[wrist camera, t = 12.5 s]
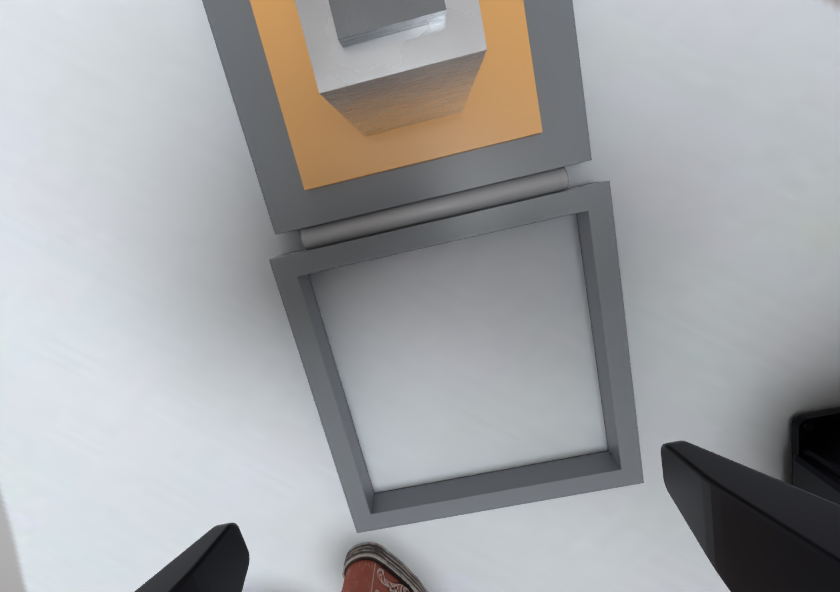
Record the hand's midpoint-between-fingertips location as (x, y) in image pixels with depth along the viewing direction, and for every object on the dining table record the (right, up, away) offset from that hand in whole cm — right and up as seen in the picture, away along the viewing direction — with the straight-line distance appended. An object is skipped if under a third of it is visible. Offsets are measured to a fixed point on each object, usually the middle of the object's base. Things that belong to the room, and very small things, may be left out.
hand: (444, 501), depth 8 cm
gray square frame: (+2, +1, +12) cm, 12 cm away
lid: (-1, +14, +9) cm, 17 cm away
